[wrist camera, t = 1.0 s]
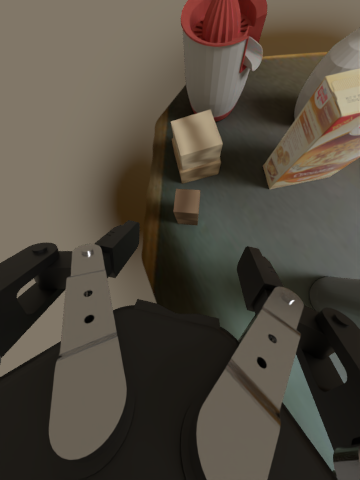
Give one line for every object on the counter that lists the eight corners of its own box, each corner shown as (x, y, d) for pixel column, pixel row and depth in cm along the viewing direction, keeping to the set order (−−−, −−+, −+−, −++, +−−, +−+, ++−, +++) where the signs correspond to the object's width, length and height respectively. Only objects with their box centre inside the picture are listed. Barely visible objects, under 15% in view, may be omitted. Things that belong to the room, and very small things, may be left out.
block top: (208, 129, 38) (210, 109, 33) (218, 160, 36) (222, 143, 31) (173, 139, 38) (170, 121, 33) (182, 170, 37) (180, 156, 32)
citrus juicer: (225, 141, 42) (252, 32, 22) (175, 115, 45) (160, -1, 25) (256, 99, 43) (306, -38, 24) (205, 77, 46) (213, -62, 27)
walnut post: (199, 206, 40) (200, 190, 31) (197, 225, 39) (197, 213, 30) (180, 205, 40) (176, 188, 31) (178, 223, 40) (173, 211, 31)
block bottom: (208, 143, 43) (210, 127, 38) (217, 174, 41) (221, 162, 36) (174, 153, 43) (171, 138, 38) (182, 184, 41) (180, 173, 37)
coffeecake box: (268, 190, 39) (341, 116, 19) (261, 165, 40) (323, 73, 21) (330, 178, 38) (471, 88, 18) (320, 153, 39) (443, 44, 20)
